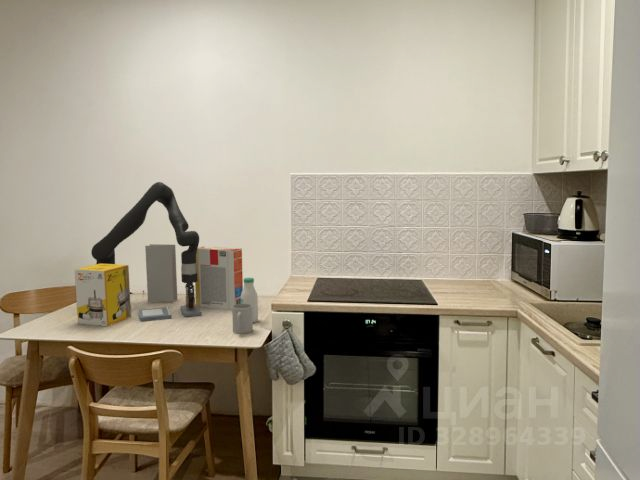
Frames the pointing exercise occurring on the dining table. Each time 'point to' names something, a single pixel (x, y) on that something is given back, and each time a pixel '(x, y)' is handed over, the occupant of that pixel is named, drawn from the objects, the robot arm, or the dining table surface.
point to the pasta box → (218, 277)
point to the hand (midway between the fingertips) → (190, 306)
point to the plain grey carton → (161, 273)
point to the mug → (242, 318)
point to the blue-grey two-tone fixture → (190, 309)
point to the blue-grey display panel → (154, 314)
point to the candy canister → (250, 297)
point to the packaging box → (102, 294)
